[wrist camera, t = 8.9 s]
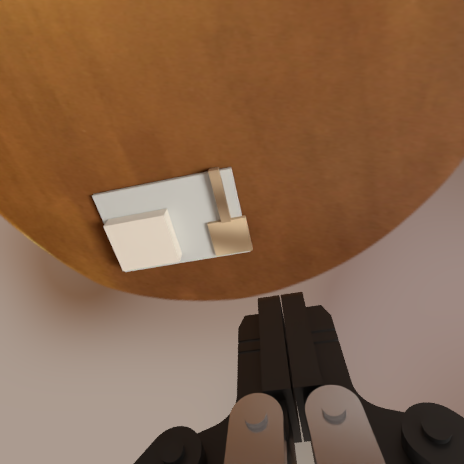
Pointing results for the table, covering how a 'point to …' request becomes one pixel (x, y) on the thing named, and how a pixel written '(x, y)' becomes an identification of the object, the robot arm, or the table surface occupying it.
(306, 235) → the table surface
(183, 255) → the mat
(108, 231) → the tile
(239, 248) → the turner
